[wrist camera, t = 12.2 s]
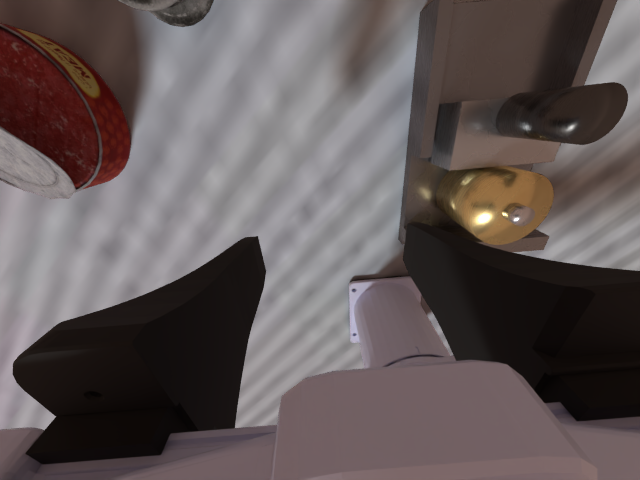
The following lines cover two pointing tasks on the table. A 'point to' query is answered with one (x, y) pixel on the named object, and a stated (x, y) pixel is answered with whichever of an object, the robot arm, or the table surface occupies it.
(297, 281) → the table surface
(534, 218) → the gold bell
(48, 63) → the canned food
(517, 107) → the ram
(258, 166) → the table surface
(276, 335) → the table surface
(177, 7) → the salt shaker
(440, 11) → the press frame
